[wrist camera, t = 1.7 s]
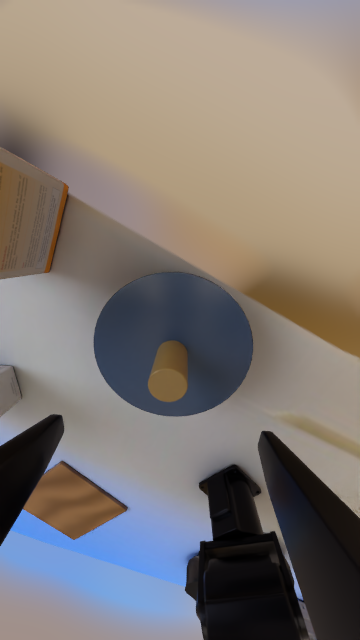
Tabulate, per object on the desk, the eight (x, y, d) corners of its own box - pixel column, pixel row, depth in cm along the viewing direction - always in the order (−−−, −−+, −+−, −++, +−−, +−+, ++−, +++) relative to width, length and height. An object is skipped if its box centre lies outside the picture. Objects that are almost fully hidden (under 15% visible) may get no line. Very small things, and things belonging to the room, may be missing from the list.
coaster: (127, 507, 30) (126, 510, 30) (75, 537, 33) (74, 540, 32) (62, 460, 27) (60, 463, 27) (11, 497, 30) (9, 500, 30)
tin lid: (278, 355, 16) (318, 398, 11) (168, 428, 19) (161, 487, 14) (180, 233, 13) (177, 219, 9) (69, 339, 16) (19, 374, 11)
